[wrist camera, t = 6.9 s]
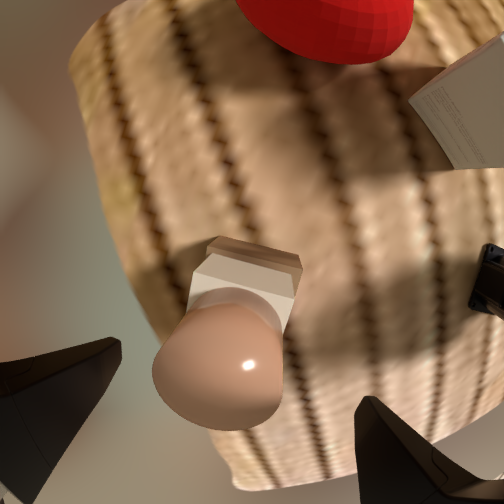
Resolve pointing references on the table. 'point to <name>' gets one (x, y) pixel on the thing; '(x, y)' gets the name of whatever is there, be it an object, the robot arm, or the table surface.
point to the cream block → (244, 282)
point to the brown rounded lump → (223, 361)
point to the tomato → (333, 27)
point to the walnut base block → (258, 256)
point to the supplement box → (468, 107)
